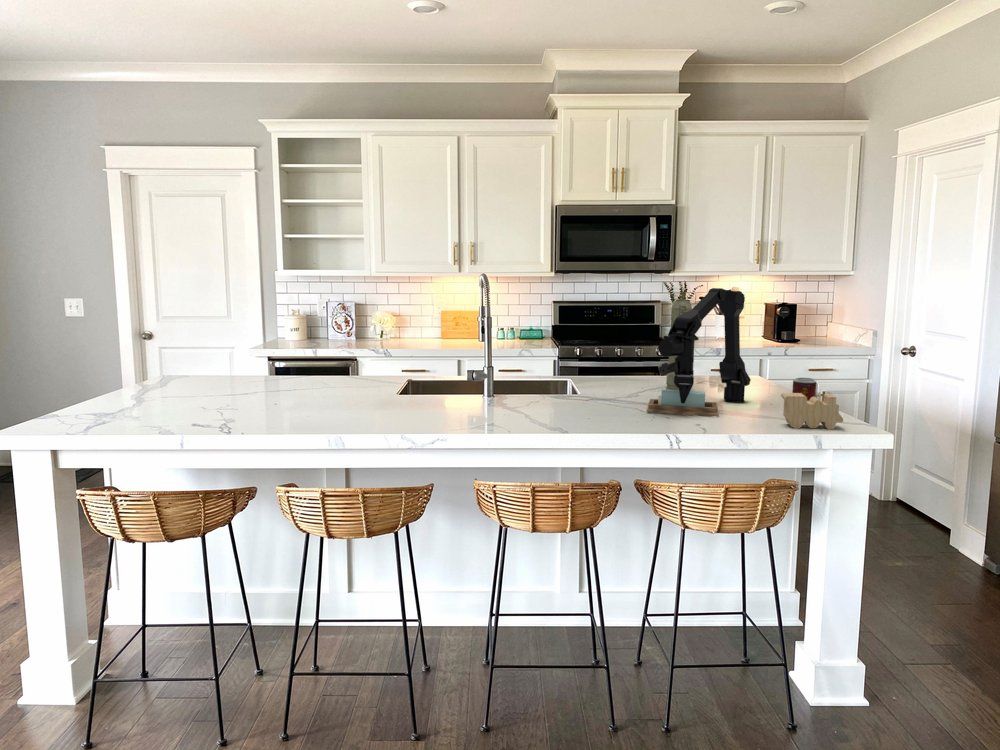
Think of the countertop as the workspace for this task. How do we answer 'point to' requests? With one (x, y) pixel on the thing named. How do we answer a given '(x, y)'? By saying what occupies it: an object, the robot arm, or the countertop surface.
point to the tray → (683, 409)
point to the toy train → (811, 410)
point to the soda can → (805, 387)
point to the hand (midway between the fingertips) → (682, 400)
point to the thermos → (676, 310)
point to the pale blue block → (674, 399)
